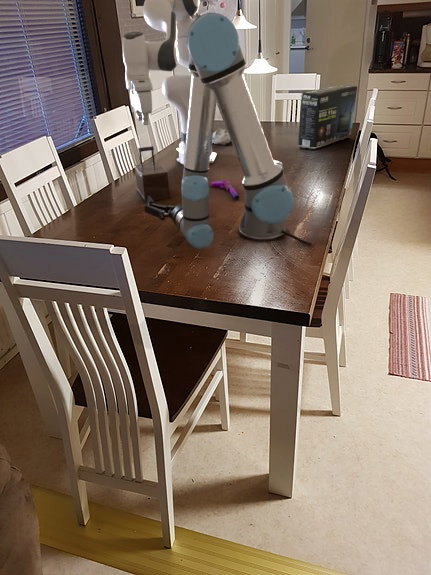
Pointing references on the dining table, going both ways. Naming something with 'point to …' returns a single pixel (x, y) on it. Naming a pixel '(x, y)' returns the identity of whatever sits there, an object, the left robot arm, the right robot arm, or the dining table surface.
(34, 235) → the dining table surface
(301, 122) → the router box
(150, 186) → the chest
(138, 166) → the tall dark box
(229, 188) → the handgun
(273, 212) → the right robot arm
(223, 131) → the fossil
